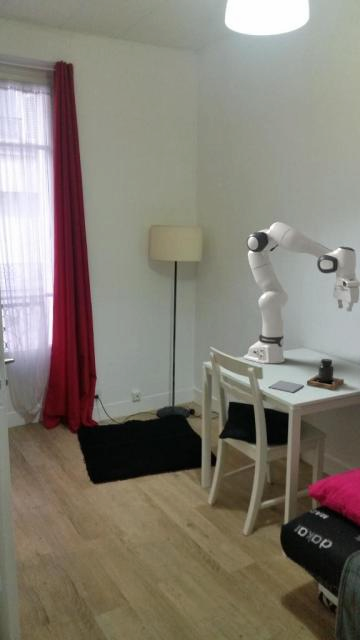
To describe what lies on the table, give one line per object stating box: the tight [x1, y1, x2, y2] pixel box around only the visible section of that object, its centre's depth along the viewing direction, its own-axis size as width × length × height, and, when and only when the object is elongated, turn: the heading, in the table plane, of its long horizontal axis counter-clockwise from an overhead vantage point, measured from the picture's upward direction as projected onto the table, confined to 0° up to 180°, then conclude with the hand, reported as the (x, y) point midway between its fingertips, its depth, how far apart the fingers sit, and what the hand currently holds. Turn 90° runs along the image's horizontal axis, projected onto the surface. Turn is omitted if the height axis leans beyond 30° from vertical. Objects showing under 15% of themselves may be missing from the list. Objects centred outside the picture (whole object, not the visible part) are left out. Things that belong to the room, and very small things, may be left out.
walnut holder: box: [306, 374, 345, 391], centre depth 253 cm, size 13×13×2 cm
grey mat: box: [268, 379, 305, 394], centre depth 249 cm, size 12×12×1 cm
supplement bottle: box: [317, 358, 334, 385], centre depth 252 cm, size 7×7×12 cm
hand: (344, 309), depth 256 cm, fingers open, 8 cm apart
